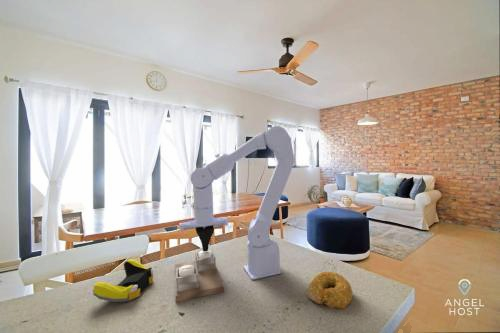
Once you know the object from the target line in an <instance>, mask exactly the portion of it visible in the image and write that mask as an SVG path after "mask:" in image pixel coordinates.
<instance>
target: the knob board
mask: <svg viewBox="0 0 500 333" xmlns="http://www.w3.org/2000/svg"><path fill="white" fill-rule="evenodd" d="M210 251H211V252H212V257H209V258H204V259H199V252H200V251H197V252H195V260H194V261H193V260H192V261H188V262H181V263H176V264H174V283H175V303H179V302H185V301H189V300H192V299H196V298H202V297H206V296H209V295H213V294H218V293H222V292H225V285H224V283H223V280H222V277H221V276H220V273H219V271H218V270H219V269H218V268H217V264H216V255H215V253H214V251H213V250H212V249H211V250H210ZM185 265H193V266H194V272H195V274H192V275H187V276H182V277H179V268H180V267H182V266H185Z"/></svg>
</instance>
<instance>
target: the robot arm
mask: <svg viewBox="0 0 500 333" xmlns="http://www.w3.org/2000/svg"><path fill="white" fill-rule="evenodd" d="M292 144H293V143H292V138H291V136H290V135H289V133H288V131H287V130H286V129H285V127H282V126H279V125H275V126H274V125H273V126H272V127H270V128H269V129H268V130H264V131H262V132H260V133H258V134H257V135H256V134H255V136H253V137H252V138H250V139H248V140H247V141H246V142H245V143H243V144H242V145H240V146H239V147H237V148H236V149H235V150H233V151H232V152H231V153H224V152H223V153H221V154H220V153H217V154H216V155H215V156H214V157H215V158H213V159H212V160H211V161H208V162H207V163H206V162H205V163H203V164H202V167H197V168H195V169H194V171H192V173H191V175H190V182H191V184H192V185H193V207H194V208H193V211H194V214H193V215H194V219H193V220H189V221H184V222H179V232H183V231H185V230H186V231H187V230H195V232H196V234H197V235H198V238H199V241H200V242H201V243H200V244H201V248H202V251H203V252H206V251H208V250H209V245H210V243H211V239H212V236H213V234H214V232H215V227H219V226H228V225H229V218H227V217H214V194H213V183H214V181H216V180H218V179H220V178H221V177H223V176H224V175H226V174H227V173H229V172H231V171H232V170H234V167H235V163H236V162H238V161H241V159H243V158H245V157H246V156H248V155H249V154H251V153H253V152H255V151H257V150H266V149H267V147H268V149H269V150H271V152H272V153H273V156H274V157H275V159H276V162H277V163H276V166H275V167H274V170H273V173H272V176H271V178H270V181H269V183H268V186H267V187H266V191H265V193H264V196H263V198H262V201H261V203H260V206H259V208H258V210H257V211H256V215H255V216H254V217H253V218H252V219H251V220H250V222H249V225H248V232H247V241H246V244H247V250H246V251H247V252H246V253H247V256H246V257H247V264H244V265H243V269H244V270H245V272H246V274H247V275H248V276H249V278H250V279H251V280H253V281H254V280H257V279H261V278H262V279H263V278H266V277H267V278H268V277H271V276H276V275H279V274H281V273H282V271H281V265H280V259H281V258H280V254H281V253H280V247H279V245H278V242H277V241H276V240H275V239H270V229H271V226H272V224H273V223H272V222H273V217H274V215H275V212H276V210H277V208H278V205H279V202H280V200H281V198H282V196H283V192H284V190H285V187H286V185H287V183H288V179H289V176H290V174H291V172H292V170H293V167H294V164H295V160H296V159H295V154H294V149H293V145H292Z"/></svg>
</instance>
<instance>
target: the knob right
mask: <svg viewBox="0 0 500 333" xmlns="http://www.w3.org/2000/svg"><path fill="white" fill-rule="evenodd" d="M198 252H199V259H204V258H209V257H212V252H211V251H210V250H209V249H208V251H206V252H203V250H200V251H198Z"/></svg>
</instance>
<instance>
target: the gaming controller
mask: <svg viewBox="0 0 500 333" xmlns="http://www.w3.org/2000/svg"><path fill="white" fill-rule="evenodd" d="M123 268H124V272H125V277H124V278H123V280H122V281H120V282H119V283H118V284H117V285H116V284H110V283H108V282H103V281H98V282H96V283H94V284H93V289H92V294H93V296H94V297H96V298H97V299H98V300H101V301H102V300H103V301H109V302H113V303H115V302H119V303H127V302H129V301H130V302H131V301H132V300H135V299H136V298H138V297H140V296H141V294H142V293H143V292H145V290H146V289H147V288H148V287H149V285H150V284H152V283H153V281H154V270H155V268H154V267H153V266H150V267H147V266H145V265H143V264H142V263H141V262H139V261H137V260H136V259H133V258H132V259H131V258H129V259H128V260H126V261H124V263H123Z"/></svg>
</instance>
